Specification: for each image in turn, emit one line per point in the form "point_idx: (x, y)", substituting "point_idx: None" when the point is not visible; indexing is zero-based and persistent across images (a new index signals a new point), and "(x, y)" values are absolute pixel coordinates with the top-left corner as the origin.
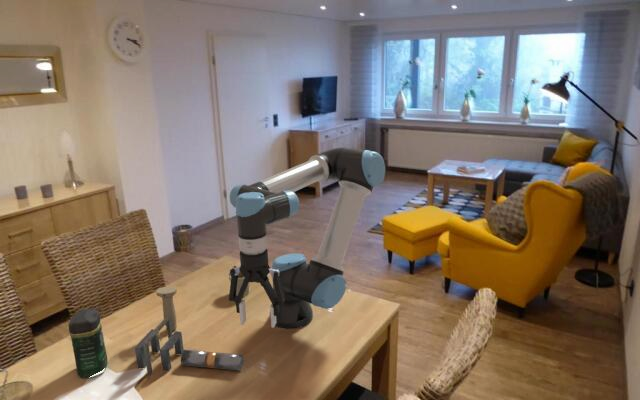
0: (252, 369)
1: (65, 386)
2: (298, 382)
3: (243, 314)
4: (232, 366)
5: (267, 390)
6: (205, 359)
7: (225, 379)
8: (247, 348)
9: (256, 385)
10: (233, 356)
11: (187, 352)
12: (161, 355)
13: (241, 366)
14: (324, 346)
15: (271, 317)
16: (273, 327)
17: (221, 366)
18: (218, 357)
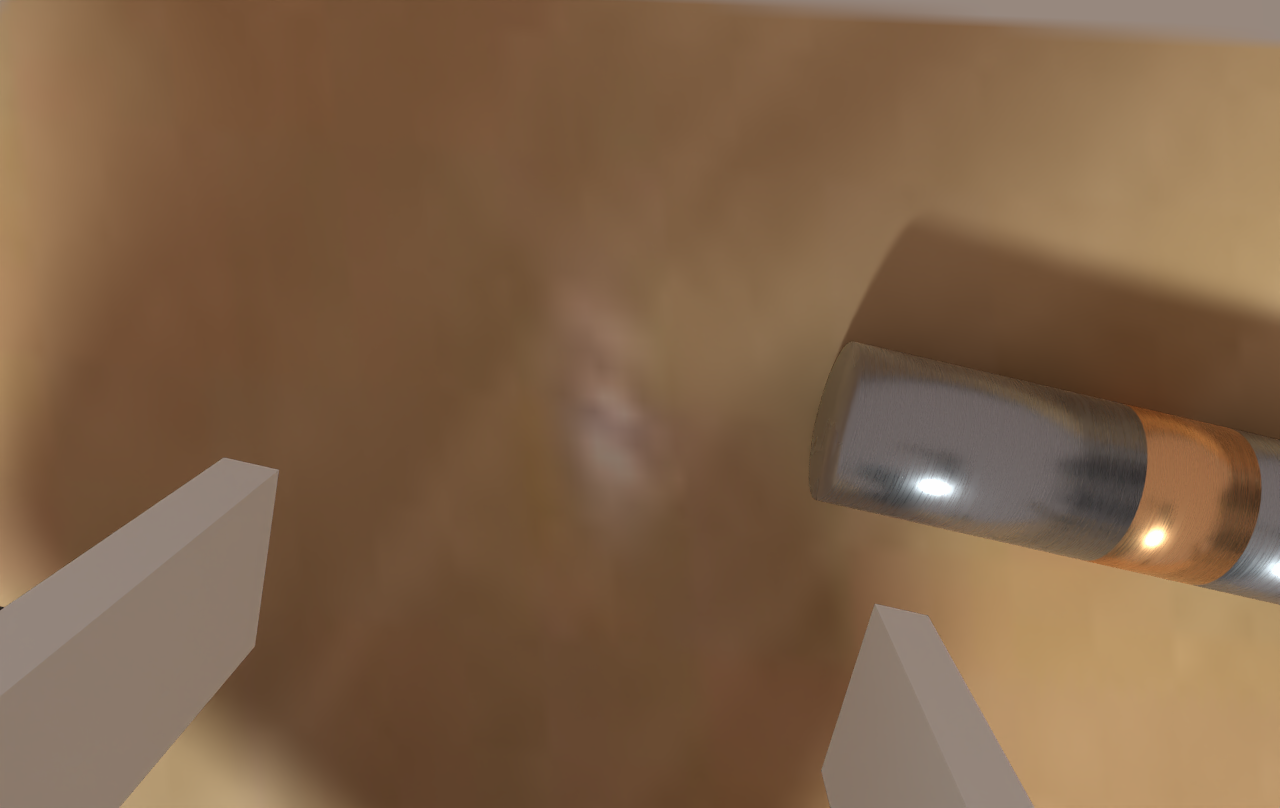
0: (712, 385)
1: None
2: (233, 147)
3: (908, 791)
4: (925, 359)
5: (534, 48)
6: (1248, 458)
7: (976, 254)
8: (786, 704)
9: (653, 135)
10: (932, 449)
11: None
12: None
13: (826, 406)
14: None
15: (135, 561)
16: (234, 462)
17: (1043, 385)
18: (1106, 456)
